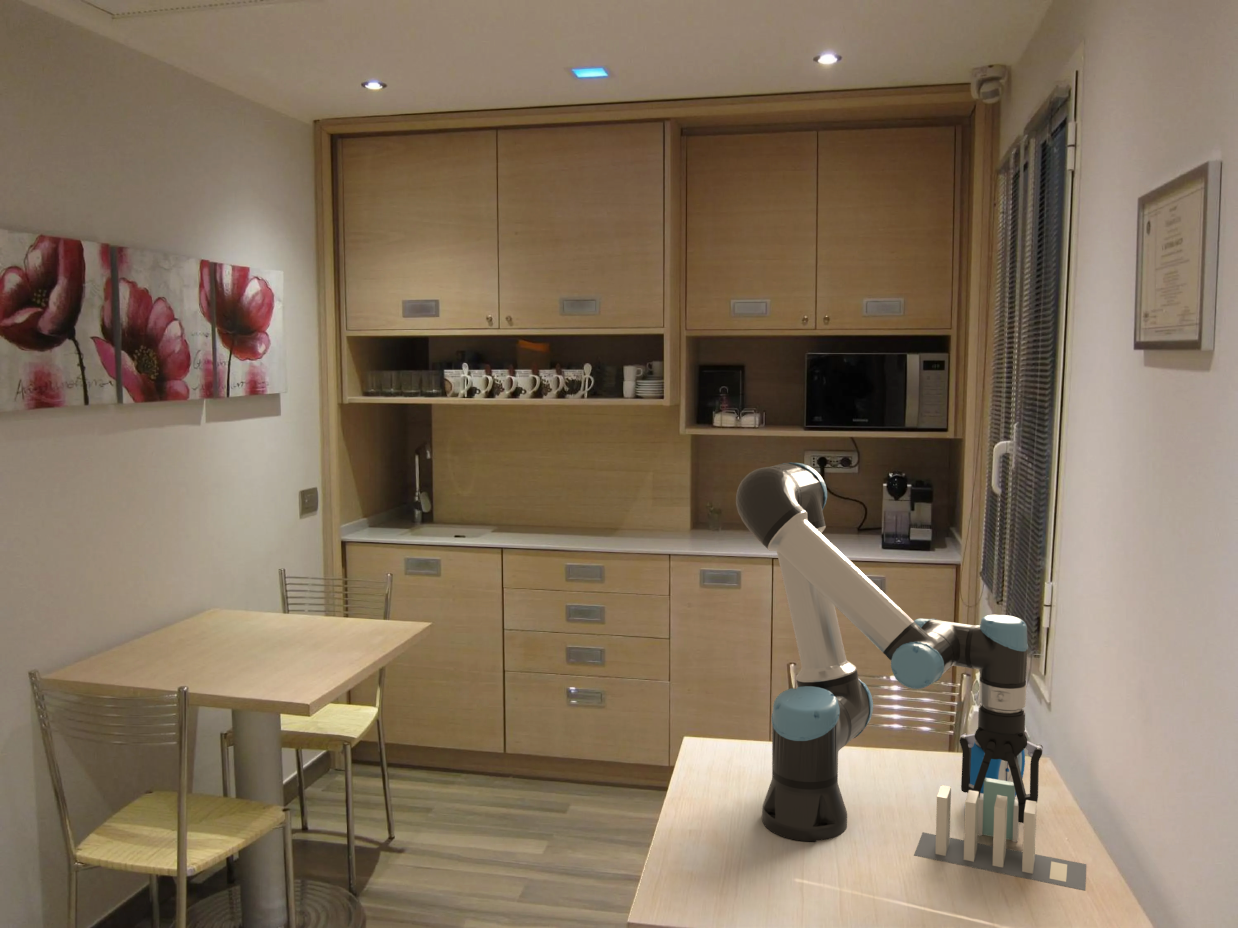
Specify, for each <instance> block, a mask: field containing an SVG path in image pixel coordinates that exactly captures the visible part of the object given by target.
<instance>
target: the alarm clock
mask: <svg viewBox="0 0 1238 928" xmlns="http://www.w3.org/2000/svg"><path fill="white" fill-rule="evenodd" d="M984 754H985V753H984V751H983V750H982V748H981V747H980V745H979V744H978V742H977V741H974V746H973V747H972V748H971V772H970V784H972V785H975V782H976V779H977V776H978V773H979V770H980V767H981V764H982V761H983V757H984ZM1017 757H1018V763H1019V767H1020V772H1021V776H1022V780H1023V779H1024V775H1025V774H1024V773H1025V765H1026V752H1025V749H1024V750H1023V751H1022V752H1021V753H1020V754H1019V755H1018V756H1017ZM985 778H991V779H997V780H1003V781H1009V782H1013V779H1012V775H1011V771H1010V768H1009V765H1008V761H1004V760H1001V759H991V761H990V764H989V767H988V770H987V773H986V776H985ZM980 793H982V794H983V793H984V782H983V785H982V788H981V791H980ZM1015 798H1017V795H1016V791H1015Z"/></svg>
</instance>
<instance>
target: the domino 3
mask: <svg viewBox="0 0 1238 928" xmlns="http://www.w3.org/2000/svg"><path fill="white" fill-rule="evenodd" d="M997 795H1001V796H1007V827H1006V840H1009V841H1010V840H1011V841H1013V813H1014V803H1015V799H1016V797H1015V787H1014V783H1013V782H1009V781H1003V780H997V779H991V778H985V779H984V793H983V834H982V836H989V837H993V833H994V806H995V802H996V798H997Z"/></svg>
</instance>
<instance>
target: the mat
mask: <svg viewBox="0 0 1238 928" xmlns="http://www.w3.org/2000/svg"><path fill="white" fill-rule="evenodd" d="M913 856H915V857H920V858H924V859H929V860H934V861H939V862H944V863H949V864H954V865H957V866H963V867H968V868H972V869H978V870H983V871H988V872H993V873H997V874H1002V875H1007V876H1011V877H1015V878H1017V877H1018V878H1021V879H1027V880H1031V881H1037V882H1040V883H1041V882H1042V883H1047V884H1052V885H1056V886H1060V887H1066V888H1070V889H1074V890H1075V889H1076V890H1079V891H1086V884H1087V882H1086V881H1087V863H1081V862H1078V861H1073V860H1066V859H1061V858H1056V857H1052V856H1046V855H1042V854H1036V853H1035V861H1034V869H1033V874H1032V873H1027V872H1022V860H1023V851H1021V850H1015V849H1010V848H1006V855H1005V860H1004V865H1003V867H998V866H993V845H990V844H985V843H980V842H977V851H976V855H975V859H974V862H973V861H968V860H964V839H959V838H954V837H950V843H949V846H948V849H947V853H946V856H944V855H939V854H936V834H934V833H928V832H922V833H921V835H920V838H919V841H918V843H917V846H916V849H915V851H914V854H913Z"/></svg>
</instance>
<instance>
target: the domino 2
mask: <svg viewBox="0 0 1238 928" xmlns="http://www.w3.org/2000/svg"><path fill="white" fill-rule="evenodd" d="M966 794H967V795H966V797H965V798H966V799H965V801H964V828H963V829H964V832H963V833H964V835H963V840H964V860H968V861H973V862H974V859H975V855H976V851H977V843H978V842H979V841H978V837H979V835H978V806H979V792H978V791H972V790H969V791H968V793H966Z"/></svg>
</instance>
